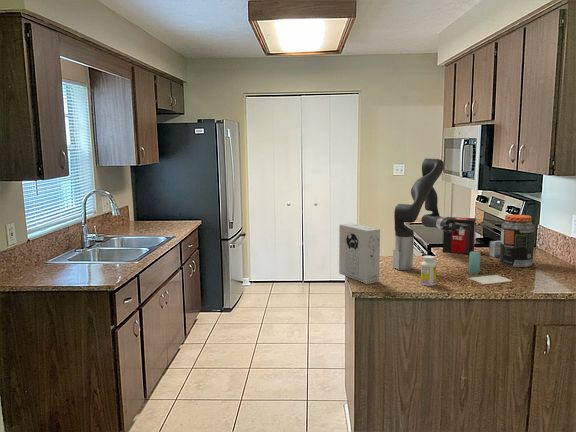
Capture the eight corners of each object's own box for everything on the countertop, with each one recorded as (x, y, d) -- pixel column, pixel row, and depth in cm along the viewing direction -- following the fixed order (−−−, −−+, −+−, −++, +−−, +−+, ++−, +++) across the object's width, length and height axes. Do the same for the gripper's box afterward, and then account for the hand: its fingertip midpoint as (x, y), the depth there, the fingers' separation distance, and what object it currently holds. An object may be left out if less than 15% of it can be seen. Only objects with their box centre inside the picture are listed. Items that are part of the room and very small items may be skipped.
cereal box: (379, 282, 220) (380, 229, 216) (366, 284, 216) (367, 230, 212) (351, 271, 238) (351, 222, 234) (338, 273, 234) (339, 224, 231)
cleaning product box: (442, 252, 278) (444, 218, 275) (444, 249, 286) (446, 216, 283) (472, 255, 271) (474, 220, 268) (474, 251, 279) (475, 218, 276)
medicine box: (494, 257, 264) (495, 242, 263) (488, 255, 269) (489, 240, 267) (506, 256, 266) (506, 241, 265) (500, 254, 271) (501, 240, 269)
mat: (483, 284, 214) (483, 283, 214) (466, 277, 225) (466, 276, 225) (512, 281, 218) (512, 280, 218) (494, 274, 230) (494, 273, 230)
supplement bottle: (433, 281, 219) (434, 254, 217) (437, 286, 212) (439, 258, 210) (418, 282, 219) (419, 255, 217) (423, 286, 212) (424, 258, 210)
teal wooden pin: (473, 273, 232) (474, 254, 230) (466, 271, 236) (467, 251, 235) (481, 273, 233) (482, 253, 231) (474, 270, 238) (475, 251, 236)
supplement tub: (531, 262, 253) (534, 214, 250) (533, 269, 239) (537, 218, 235) (499, 259, 260) (501, 213, 256) (499, 266, 245) (502, 217, 241)
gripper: (434, 218, 256) (450, 223, 240) (458, 217, 259) (475, 221, 243) (433, 231, 257) (450, 237, 242) (457, 230, 260) (475, 236, 245)
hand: (462, 229), depth 242 cm, fingers open, 8 cm apart
